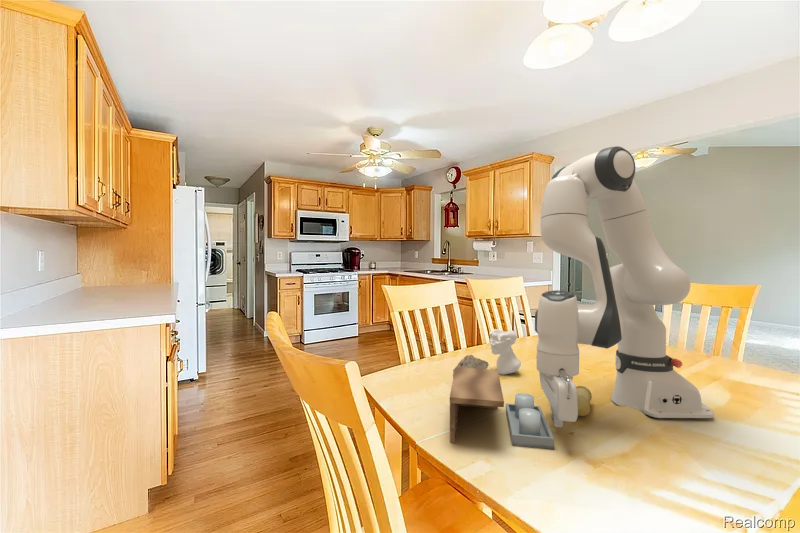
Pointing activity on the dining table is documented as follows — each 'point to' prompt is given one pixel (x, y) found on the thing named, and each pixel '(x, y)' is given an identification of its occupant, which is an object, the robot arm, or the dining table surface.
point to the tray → (529, 440)
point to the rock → (471, 363)
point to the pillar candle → (529, 422)
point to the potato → (583, 400)
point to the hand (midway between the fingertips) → (556, 424)
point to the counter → (473, 392)
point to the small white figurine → (504, 351)
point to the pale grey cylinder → (523, 402)
